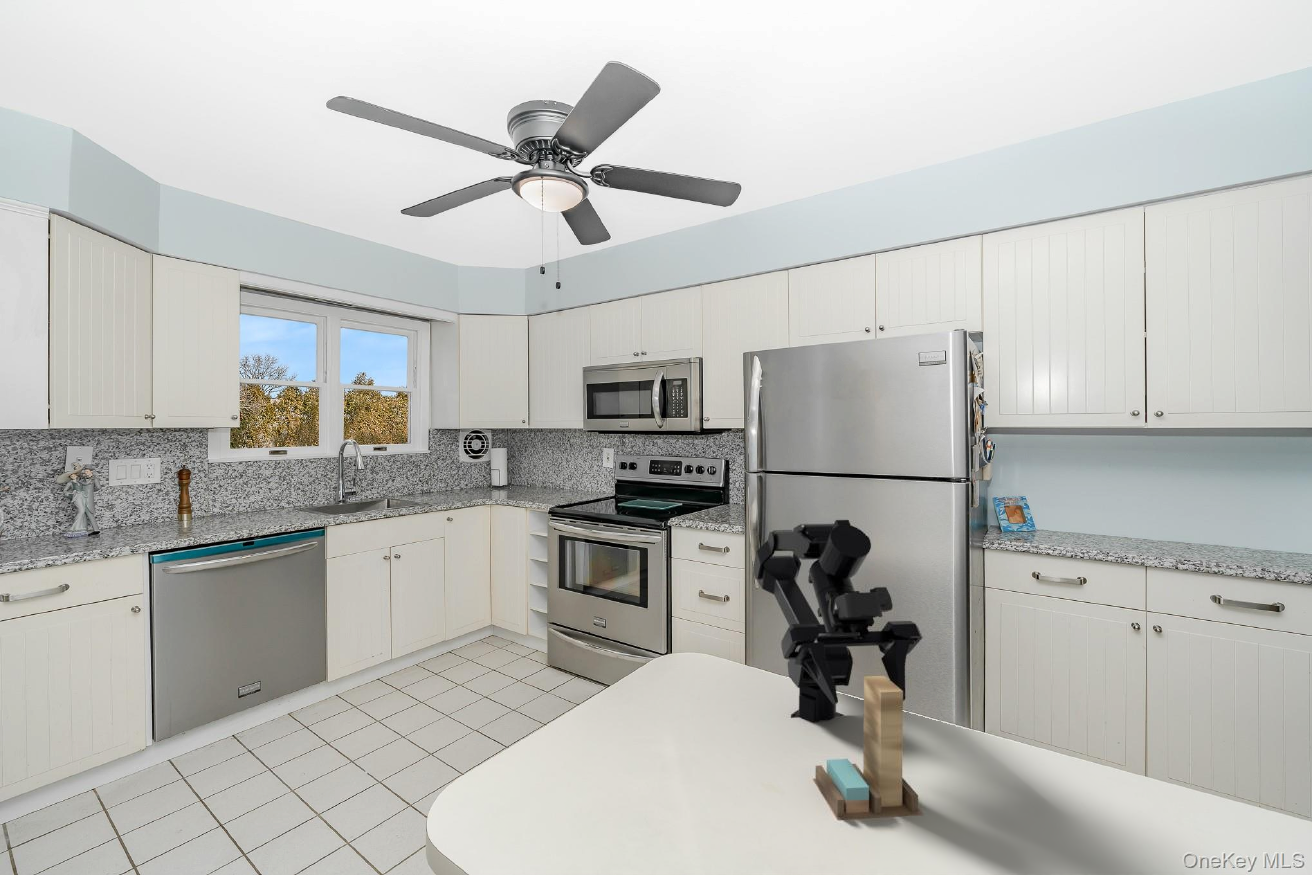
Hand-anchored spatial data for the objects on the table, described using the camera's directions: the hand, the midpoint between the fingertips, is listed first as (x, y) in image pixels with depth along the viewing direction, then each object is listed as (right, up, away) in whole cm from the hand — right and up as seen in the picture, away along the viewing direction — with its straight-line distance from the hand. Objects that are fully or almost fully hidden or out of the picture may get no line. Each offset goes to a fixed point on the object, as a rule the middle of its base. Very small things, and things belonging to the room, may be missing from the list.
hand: (869, 701), depth 75 cm
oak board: (0, -10, -3) cm, 11 cm away
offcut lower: (-4, -10, -4) cm, 12 cm away
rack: (-2, -11, -4) cm, 12 cm away
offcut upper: (-4, -9, -4) cm, 10 cm away
